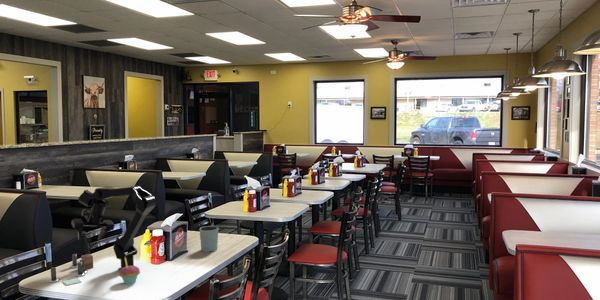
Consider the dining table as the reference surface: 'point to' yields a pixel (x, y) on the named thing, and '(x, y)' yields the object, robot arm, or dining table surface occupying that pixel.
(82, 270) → the post course
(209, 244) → the grey plant pot
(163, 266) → the dining table surface
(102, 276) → the dining table surface
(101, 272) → the dining table surface
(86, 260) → the walnut block
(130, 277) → the cupcake
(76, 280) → the coaster
